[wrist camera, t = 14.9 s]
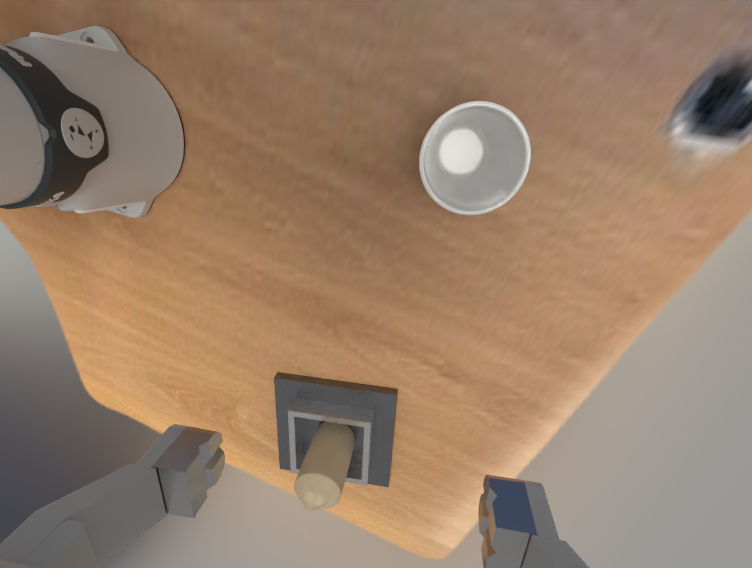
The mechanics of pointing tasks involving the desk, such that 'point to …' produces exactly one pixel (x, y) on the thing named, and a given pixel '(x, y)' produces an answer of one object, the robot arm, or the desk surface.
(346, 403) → the candle stand
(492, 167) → the drinking glass
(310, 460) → the candle
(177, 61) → the desk surface
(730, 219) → the desk surface
